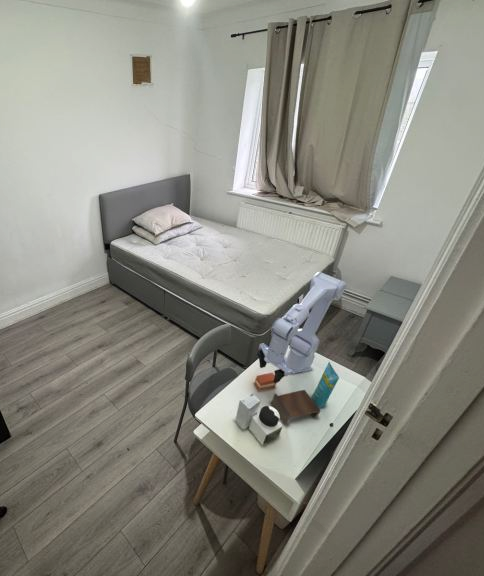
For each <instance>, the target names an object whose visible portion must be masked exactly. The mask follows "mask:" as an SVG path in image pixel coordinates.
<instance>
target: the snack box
mask: <svg viewBox="0 0 484 576" xmlns="http://www.w3.org/2000/svg"><path fill="white" fill-rule="evenodd" d="M274 377H275V373H274V372H267V373H263V374H258V375H256V377H255V380H254V386H255V387H256V389H257V390H258V391H259V392H261V391H264V390H266V391H267V390H270V389H275V388H276V385H277V383H274V382H273V381H274Z"/></svg>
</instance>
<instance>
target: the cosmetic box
mask: <svg viewBox="0 0 484 576" xmlns="http://www.w3.org/2000/svg"><path fill="white" fill-rule="evenodd" d="M260 404H261V400H260V399H259V398H258V397H257V396H256V395H254V393H252V392H250V393H248V394H247V395H246V396H244V397H243V398H241V399H240V400H239V403H238V405H237V410H236V415H235V419H234V422H235V423H236V424H237V425H238V426H239V427H240V428H241V429H242V430H243V431H244V430H246V429H247V428H249V426H250V423H251V419H252V417H253V416H255V415H257V414H258V412H259V409H260Z"/></svg>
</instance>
